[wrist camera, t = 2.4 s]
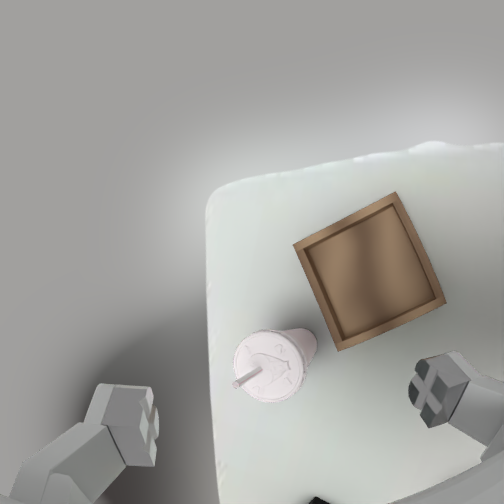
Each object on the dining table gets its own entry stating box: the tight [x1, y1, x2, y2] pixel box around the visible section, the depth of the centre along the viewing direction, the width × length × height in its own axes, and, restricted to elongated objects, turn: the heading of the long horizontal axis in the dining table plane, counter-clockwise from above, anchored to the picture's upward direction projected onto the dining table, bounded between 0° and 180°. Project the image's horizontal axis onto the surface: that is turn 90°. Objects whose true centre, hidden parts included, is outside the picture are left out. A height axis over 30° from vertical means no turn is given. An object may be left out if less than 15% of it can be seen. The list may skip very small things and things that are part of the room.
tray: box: [293, 192, 447, 351], centre depth 30 cm, size 12×12×2 cm
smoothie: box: [232, 328, 317, 403], centre depth 28 cm, size 6×6×14 cm
